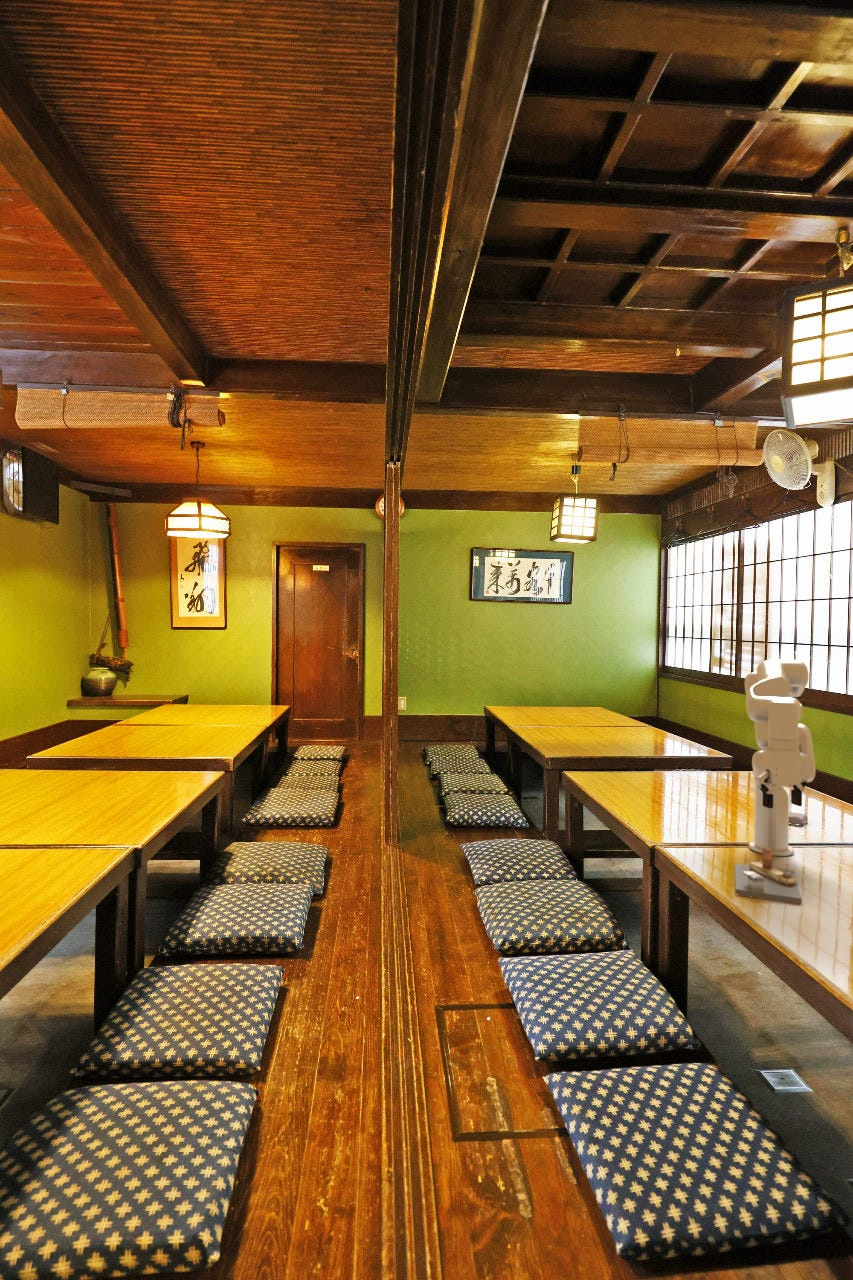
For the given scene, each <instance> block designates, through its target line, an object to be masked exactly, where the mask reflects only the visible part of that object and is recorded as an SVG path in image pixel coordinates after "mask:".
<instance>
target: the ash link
mask: <svg viewBox="0 0 853 1280" xmlns="http://www.w3.org/2000/svg"><path fill="white" fill-rule="evenodd" d="M761 854H762V855H761V857H762V859H761V861H749V864H748V865H749V868H750V869H753V870H755V871H757V872H759V873H761V874H764V875H766V876H768V877H770V878H772V879H775V880H777V881H779V882H780V883H782V884H785V885H795V884H796V881H797V877H796V876H795V877H796V878H795V877H794V876H792V875H791V873H790V872H781V871H779V870H777V869H778V868H775V869H774V867H773V855H772V849H770V848H762V853H761Z"/></svg>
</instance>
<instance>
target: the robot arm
mask: <svg viewBox="0 0 853 1280" xmlns="http://www.w3.org/2000/svg"><path fill="white" fill-rule="evenodd" d="M808 681H809V670H808V667H807V664H805V662H803V661H801V660H799V659H766V660H763V661H761V662H760V663H759V664H758V665H757V667H756V671H754V672H753V671H752V672H750V673H748V674H746V676H745V678H744V691H745V692H744V693H745V706H746V707H745V708H746V713H747V716H748V718H749V719H750V720H751V721H753V722H754V733H755V735H754V736H755V742H756V745H757V747H758V748H759V749H760V750H757V751H755V752H754V753H753V755H752V758H751V766H752V771H753V772H752V773H753V779H754V840H753V841H750V842H749V843H748V848H749V849H750V850H752V851H754V852H756V853H760V854H762V848H770V849H772V856H775V857H776V856H777V857H787V856H792V855H793V854H794V853H795V848H793V846H791V845H789V825H790V824H789V812H790V810H789V807H790V806H789V805H790V804H789V803H791V804H792V805H794V806H798V807H802V805H803V792H804V791H805V788H806V786H807V784H808V783H811V782H813V781H814V779H815V777H816V761H815V754H814V746H813V739H812V733H811V730H810V728H809V727H808V726H807V725H806V724H804V723H800V722H799V721H800V719H802V717H803V711H804V710H803V705H802V703H801V702H800V701H799V699H797V698H798V697H801V696H802V694H803V693H804V691H805V689H806V687H807V685H808ZM785 787H791V788H792V789H791V792H790V797H789V794H788V792H787V790H786V789H785ZM789 798H790V799H789ZM789 800H790V801H789Z"/></svg>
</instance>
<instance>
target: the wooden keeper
mask: <svg viewBox="0 0 853 1280" xmlns="http://www.w3.org/2000/svg"><path fill="white" fill-rule="evenodd" d="M742 875H743V876H745V877H746V878H748V887H749V888H750V889H751V890H764V878H763V877H762V876H760V875H759V874H757V873H756V872H754V871H743V872H742Z"/></svg>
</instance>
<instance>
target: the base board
mask: <svg viewBox="0 0 853 1280" xmlns="http://www.w3.org/2000/svg"><path fill="white" fill-rule="evenodd" d="M773 868H774V867H773ZM774 869H777V870H779V871H781V872H790V873H791V875H792V876H794V877H795V878H796V879H797V877H796V873H795V871H794V870H790V869H789V870H788V869H781V868H774ZM743 871H754V872H756V873H757V874H759V875H760V876H762V877H763V878H764V890H751V889H750V888H749V887H748V878H746V877H745V876H743V875H742V872H743ZM734 877H735V878H734V879H735V880H734V885H735V889H736V890H735V895H736V894H738V895H737V896H740V895H743V896H742V897H747V896H752V897H751V898H754V897H757V898H756V899H761V898H763V899H762V900H767V899H768V900H767V901H775V902H782V903H789V904H795V905H802V895H801V893H800V889H799V886H798V882H797V880H796V884H795V885H785V884H782V883H780V882H779V881H777V880H775V879H772V878H770V877H768V876H766V875H764V874H761V873H759V872H757V871H755V870H753V869H750V868H749V864H745V863H744V864H743V863H736V862H735V863H734Z"/></svg>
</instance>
